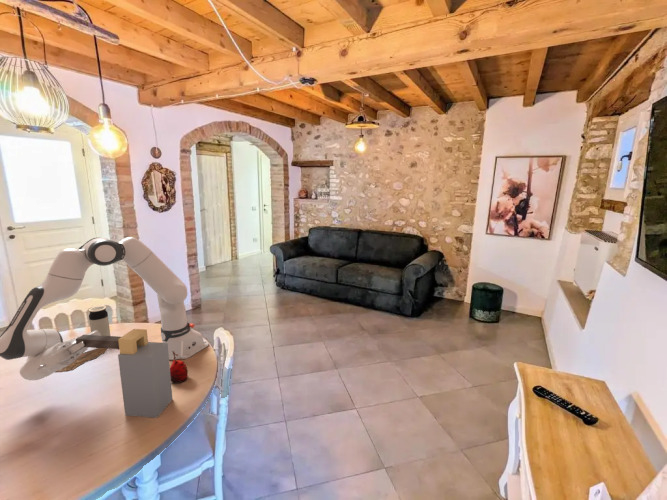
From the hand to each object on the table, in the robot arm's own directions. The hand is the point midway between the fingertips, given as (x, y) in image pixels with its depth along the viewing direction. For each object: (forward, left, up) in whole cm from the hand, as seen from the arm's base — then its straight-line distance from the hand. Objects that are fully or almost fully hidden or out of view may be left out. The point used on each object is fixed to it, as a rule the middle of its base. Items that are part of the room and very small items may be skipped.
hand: (89, 339), depth 117 cm
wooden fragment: (-10, -42, -27) cm, 51 cm away
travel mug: (-22, -55, -26) cm, 65 cm away
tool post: (-10, +18, -26) cm, 33 cm away
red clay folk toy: (-26, +10, -27) cm, 39 cm away
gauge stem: (-3, +5, -2) cm, 7 cm away
